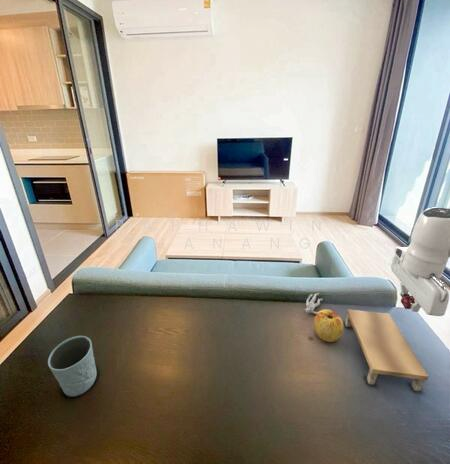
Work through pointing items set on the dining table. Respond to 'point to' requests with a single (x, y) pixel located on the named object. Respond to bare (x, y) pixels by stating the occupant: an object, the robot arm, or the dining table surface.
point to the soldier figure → (312, 304)
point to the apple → (328, 325)
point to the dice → (407, 301)
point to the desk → (385, 347)
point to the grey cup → (73, 365)
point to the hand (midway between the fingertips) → (408, 303)
